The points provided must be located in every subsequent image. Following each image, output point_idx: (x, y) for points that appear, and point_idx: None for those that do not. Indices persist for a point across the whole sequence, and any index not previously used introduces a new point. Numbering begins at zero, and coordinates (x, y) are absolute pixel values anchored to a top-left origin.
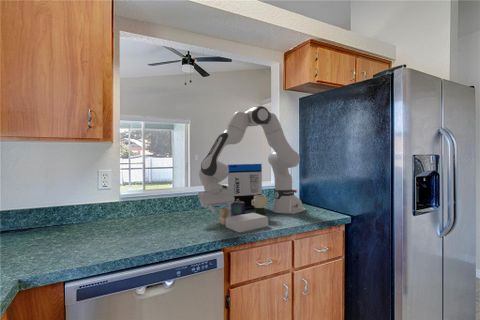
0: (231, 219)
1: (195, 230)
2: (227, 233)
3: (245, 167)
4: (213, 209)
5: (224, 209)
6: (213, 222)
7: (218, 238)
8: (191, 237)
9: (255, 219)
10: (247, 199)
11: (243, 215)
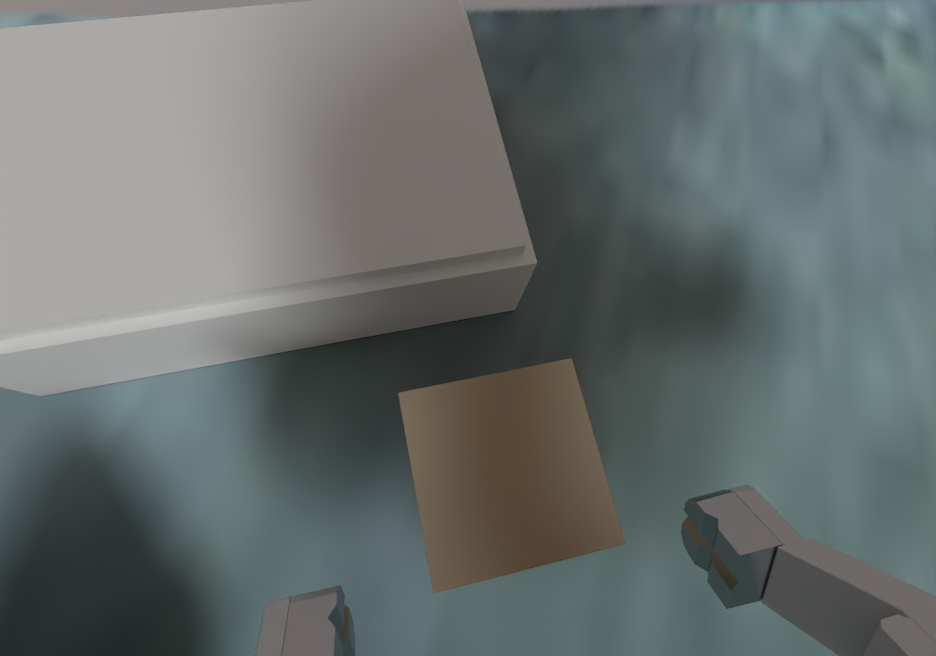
0: (492, 135)
1: (870, 325)
2: (567, 105)
3: None
4: (776, 513)
5: (534, 377)
6: (613, 615)
7: (674, 31)
8: (895, 138)
9: (189, 22)
10: None
11: (224, 232)
